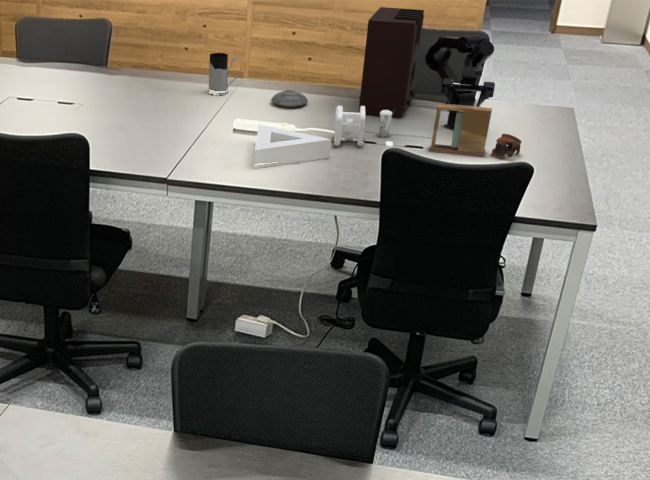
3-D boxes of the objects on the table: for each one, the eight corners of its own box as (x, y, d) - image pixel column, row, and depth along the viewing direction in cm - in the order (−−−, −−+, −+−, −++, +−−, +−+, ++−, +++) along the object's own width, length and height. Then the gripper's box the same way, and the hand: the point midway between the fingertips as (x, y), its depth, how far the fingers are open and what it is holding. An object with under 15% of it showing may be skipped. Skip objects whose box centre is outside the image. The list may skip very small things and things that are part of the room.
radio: (358, 114, 385) (368, 17, 364) (370, 97, 406) (380, 4, 384) (405, 119, 381) (419, 21, 359) (415, 101, 401) (428, 7, 380)
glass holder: (206, 90, 413) (206, 52, 404) (239, 89, 415) (240, 51, 406) (208, 96, 406) (209, 57, 397) (242, 95, 408) (244, 56, 399)
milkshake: (391, 138, 361) (395, 110, 355) (376, 137, 362) (380, 109, 356) (391, 134, 364) (395, 106, 358) (377, 133, 365) (380, 105, 359)
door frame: (431, 146, 353) (438, 102, 343) (485, 152, 348) (493, 107, 338) (429, 151, 349) (436, 106, 339) (483, 156, 344) (492, 111, 334)
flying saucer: (315, 105, 395) (316, 91, 392) (286, 111, 389) (287, 97, 385) (291, 97, 405) (292, 83, 402) (263, 102, 399) (264, 88, 395)
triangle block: (253, 168, 333) (254, 150, 329) (221, 147, 352) (221, 129, 348) (329, 157, 343) (331, 139, 339) (293, 137, 362) (295, 119, 358)
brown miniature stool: (484, 153, 348) (495, 131, 346) (505, 165, 351) (516, 142, 349) (501, 155, 337) (513, 132, 335) (522, 166, 340) (534, 143, 338)
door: (453, 141, 352) (459, 106, 345) (478, 143, 350) (485, 109, 343) (450, 147, 347) (456, 112, 340) (476, 149, 345) (483, 114, 337)
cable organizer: (362, 149, 350) (365, 116, 343) (332, 148, 351) (335, 115, 344) (361, 137, 362) (365, 104, 355) (333, 135, 363) (336, 103, 356)
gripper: (446, 54, 348) (437, 94, 346) (499, 58, 343) (491, 99, 341) (445, 72, 359) (436, 111, 357) (497, 76, 354) (488, 116, 352)
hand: (462, 109), depth 351 cm, fingers open, 9 cm apart
